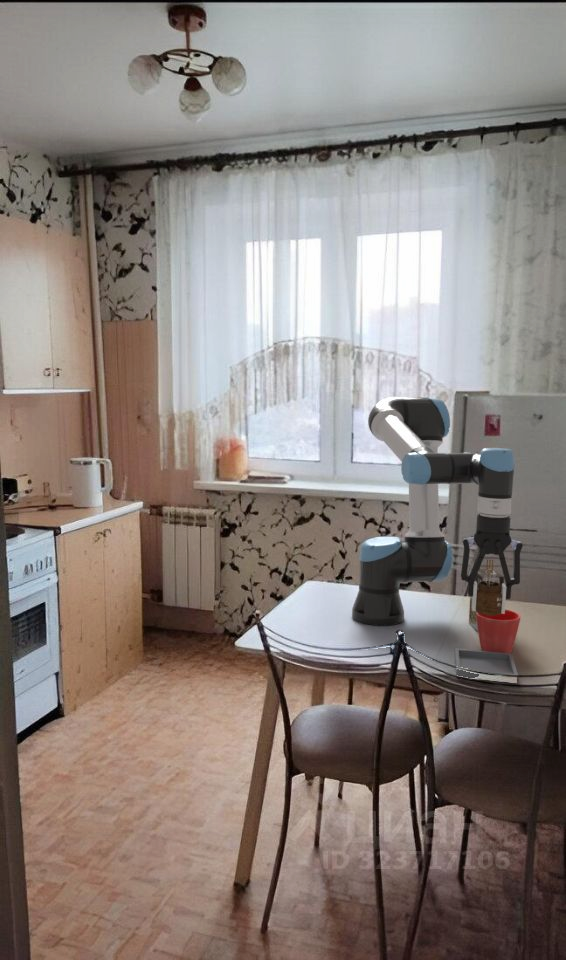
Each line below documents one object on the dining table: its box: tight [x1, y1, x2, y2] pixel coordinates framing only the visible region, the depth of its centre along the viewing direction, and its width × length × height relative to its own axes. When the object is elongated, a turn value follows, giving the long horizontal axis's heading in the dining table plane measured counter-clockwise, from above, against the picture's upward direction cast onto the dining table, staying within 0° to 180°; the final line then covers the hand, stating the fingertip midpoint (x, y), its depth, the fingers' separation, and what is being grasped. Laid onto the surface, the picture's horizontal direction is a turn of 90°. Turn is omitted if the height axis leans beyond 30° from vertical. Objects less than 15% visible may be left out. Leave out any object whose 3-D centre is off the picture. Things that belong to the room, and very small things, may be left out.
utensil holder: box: [476, 559, 502, 616], centre depth 164 cm, size 6×6×12 cm
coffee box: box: [468, 568, 505, 632], centre depth 195 cm, size 9×6×16 cm
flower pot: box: [476, 608, 521, 654], centre depth 179 cm, size 11×11×10 cm
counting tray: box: [454, 647, 519, 678], centre depth 167 cm, size 14×14×2 cm
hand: (488, 610), depth 165 cm, fingers closed on utensil holder, 6 cm apart
